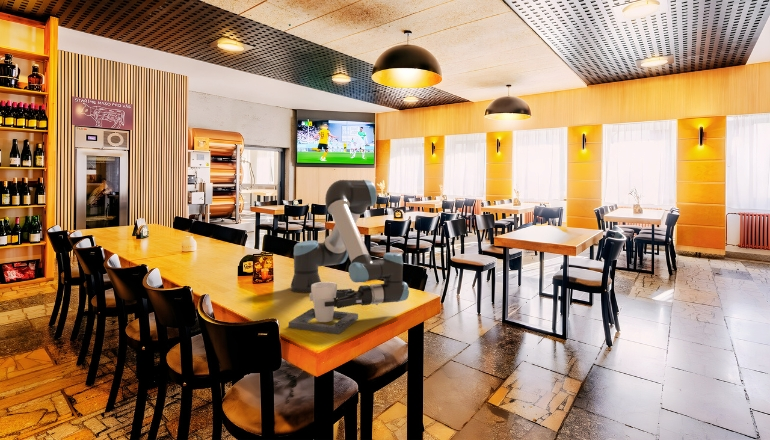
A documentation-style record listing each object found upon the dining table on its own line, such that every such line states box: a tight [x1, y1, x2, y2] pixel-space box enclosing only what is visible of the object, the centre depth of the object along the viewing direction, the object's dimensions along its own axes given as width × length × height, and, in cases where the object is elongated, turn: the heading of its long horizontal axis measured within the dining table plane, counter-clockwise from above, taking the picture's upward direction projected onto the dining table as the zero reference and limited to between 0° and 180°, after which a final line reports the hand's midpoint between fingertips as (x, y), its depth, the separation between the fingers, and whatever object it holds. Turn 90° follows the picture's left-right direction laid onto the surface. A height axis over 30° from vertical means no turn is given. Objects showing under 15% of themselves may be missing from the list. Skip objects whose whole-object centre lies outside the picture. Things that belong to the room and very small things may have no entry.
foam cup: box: [310, 281, 338, 323], centre depth 147 cm, size 10×9×13 cm
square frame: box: [288, 307, 359, 335], centre depth 148 cm, size 20×17×2 cm
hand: (312, 300), depth 146 cm, fingers closed on foam cup, 9 cm apart
